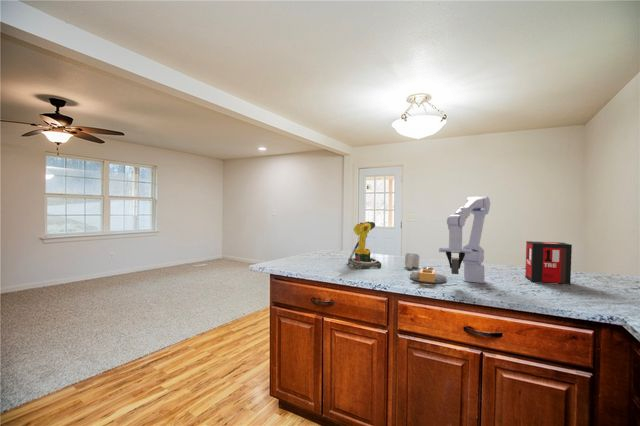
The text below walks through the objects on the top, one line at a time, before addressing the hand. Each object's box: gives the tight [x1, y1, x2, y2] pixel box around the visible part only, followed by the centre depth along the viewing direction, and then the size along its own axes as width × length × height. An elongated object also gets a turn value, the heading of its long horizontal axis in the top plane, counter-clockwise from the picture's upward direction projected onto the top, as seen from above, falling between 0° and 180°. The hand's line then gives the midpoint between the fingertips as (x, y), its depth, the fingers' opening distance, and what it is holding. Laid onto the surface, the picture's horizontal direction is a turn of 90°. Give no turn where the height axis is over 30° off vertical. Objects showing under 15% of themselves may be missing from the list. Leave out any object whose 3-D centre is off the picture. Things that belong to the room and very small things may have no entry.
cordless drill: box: [347, 221, 382, 270], centre depth 192 cm, size 18×19×28 cm
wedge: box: [450, 256, 460, 275], centre depth 144 cm, size 3×4×7 cm, turn 158°
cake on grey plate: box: [409, 266, 447, 285], centre depth 159 cm, size 18×18×6 cm
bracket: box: [411, 268, 436, 282], centre depth 153 cm, size 11×9×4 cm
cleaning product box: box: [524, 240, 573, 286], centre depth 155 cm, size 16×9×20 cm, turn 73°
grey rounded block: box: [404, 252, 420, 270], centre depth 185 cm, size 8×10×10 cm
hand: (454, 268), depth 145 cm, fingers closed on wedge, 3 cm apart
